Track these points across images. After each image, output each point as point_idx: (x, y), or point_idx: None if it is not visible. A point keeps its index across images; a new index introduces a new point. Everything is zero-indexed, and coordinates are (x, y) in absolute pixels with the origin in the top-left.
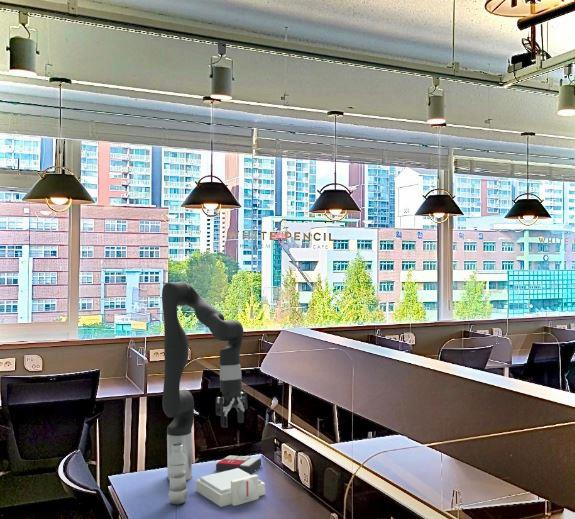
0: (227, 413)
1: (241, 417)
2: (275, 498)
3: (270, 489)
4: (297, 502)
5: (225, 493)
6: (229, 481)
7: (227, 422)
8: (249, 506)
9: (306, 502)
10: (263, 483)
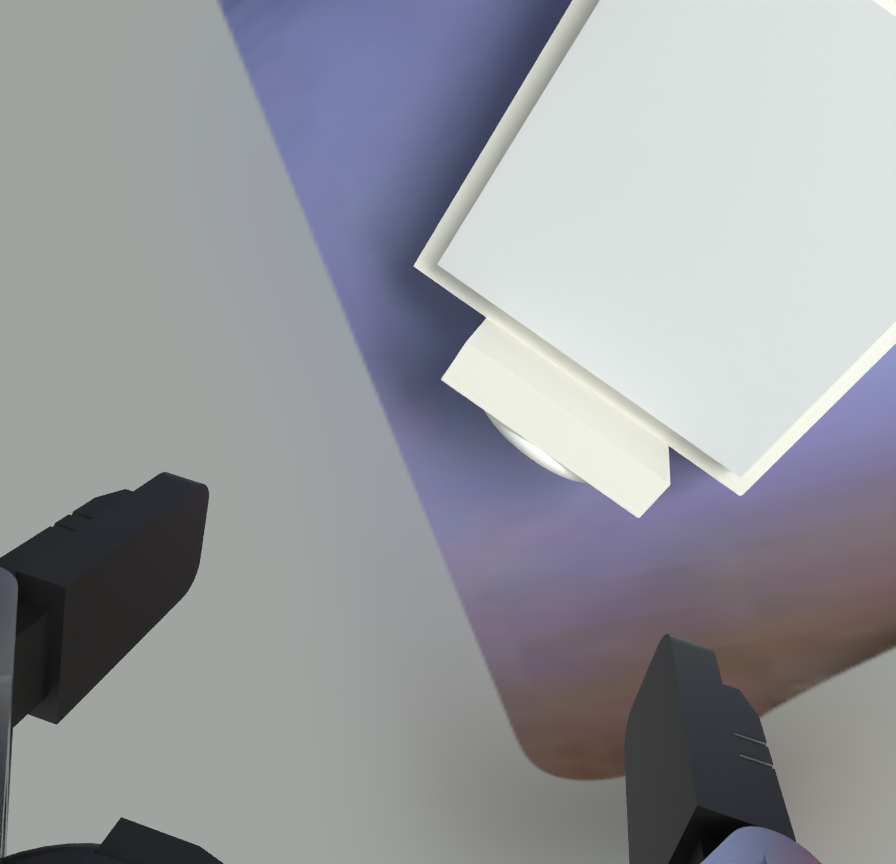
0: (9, 786)
1: (634, 802)
2: (680, 537)
3: (844, 466)
4: None
5: (451, 289)
6: (643, 236)
7: (144, 635)
8: None
9: None
10: (731, 486)
